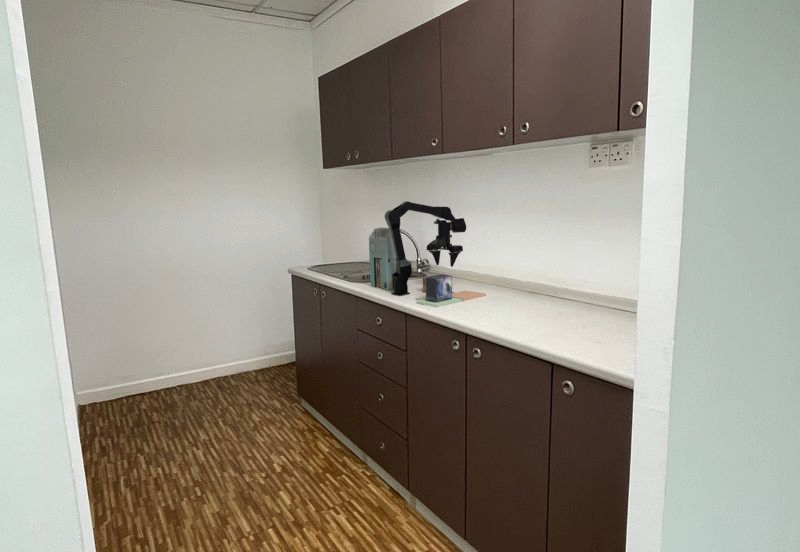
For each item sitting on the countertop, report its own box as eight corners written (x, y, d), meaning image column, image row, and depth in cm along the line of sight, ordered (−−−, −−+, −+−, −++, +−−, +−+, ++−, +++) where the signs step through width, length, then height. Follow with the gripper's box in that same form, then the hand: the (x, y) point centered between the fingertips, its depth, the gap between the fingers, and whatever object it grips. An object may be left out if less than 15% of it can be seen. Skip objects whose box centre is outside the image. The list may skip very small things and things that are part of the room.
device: (370, 286, 268) (368, 228, 263) (383, 284, 272) (381, 227, 267) (387, 290, 254) (385, 229, 250) (400, 289, 258) (398, 228, 254)
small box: (436, 303, 217) (436, 278, 215) (425, 301, 222) (424, 276, 220) (453, 299, 224) (452, 275, 223) (442, 297, 229) (441, 273, 227)
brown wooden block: (423, 292, 247) (422, 277, 246) (431, 290, 251) (431, 276, 250) (444, 295, 237) (444, 280, 236) (453, 293, 241) (453, 279, 240)
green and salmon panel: (416, 303, 222) (416, 300, 222) (465, 292, 244) (465, 290, 244) (437, 307, 214) (436, 304, 214) (485, 295, 235) (485, 293, 235)
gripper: (418, 233, 248) (418, 266, 250) (447, 235, 234) (447, 269, 236) (434, 232, 255) (434, 263, 258) (463, 233, 242) (463, 266, 244)
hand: (444, 265), depth 249 cm, fingers open, 9 cm apart
